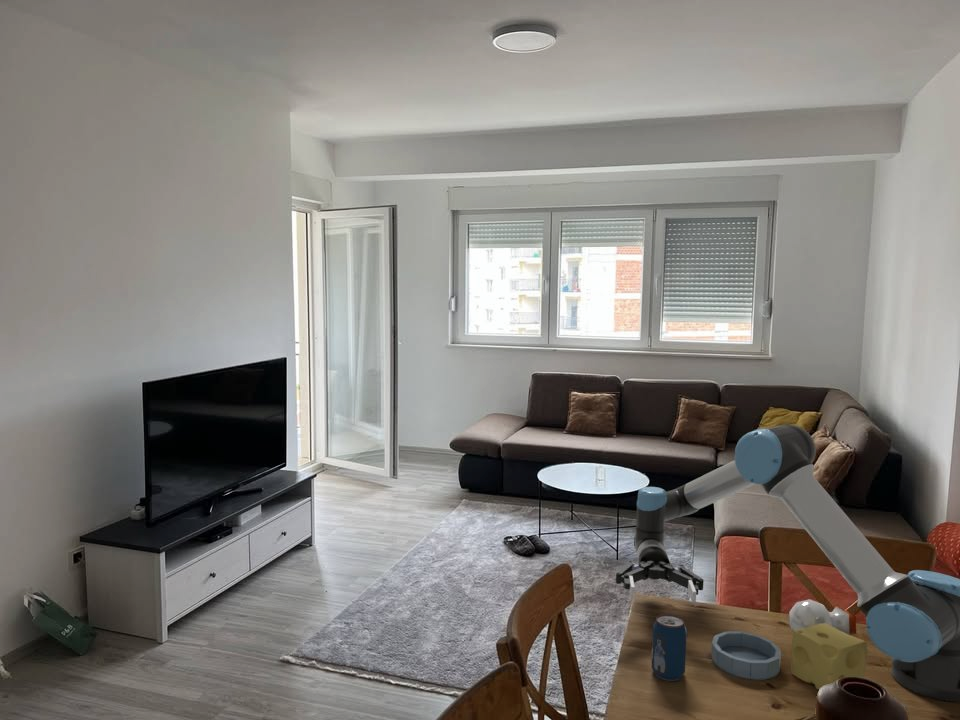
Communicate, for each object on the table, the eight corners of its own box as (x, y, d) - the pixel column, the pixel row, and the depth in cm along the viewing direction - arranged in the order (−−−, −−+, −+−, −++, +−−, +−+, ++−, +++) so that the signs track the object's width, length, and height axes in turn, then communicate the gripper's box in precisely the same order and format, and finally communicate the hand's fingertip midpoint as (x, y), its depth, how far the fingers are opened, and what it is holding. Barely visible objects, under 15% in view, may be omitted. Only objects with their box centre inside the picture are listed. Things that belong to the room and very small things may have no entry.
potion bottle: (784, 644, 169) (839, 646, 172) (810, 637, 161) (867, 639, 164) (776, 604, 174) (829, 607, 177) (800, 595, 166) (856, 598, 169)
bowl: (782, 656, 160) (783, 640, 160) (776, 686, 148) (777, 669, 148) (717, 641, 167) (718, 626, 166) (706, 669, 154) (707, 652, 154)
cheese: (829, 698, 144) (832, 651, 143) (787, 672, 154) (789, 628, 153) (865, 687, 148) (868, 641, 147) (821, 663, 158) (824, 619, 157)
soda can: (685, 668, 154) (687, 615, 153) (684, 685, 148) (686, 629, 147) (652, 663, 157) (654, 610, 155) (649, 679, 150) (652, 624, 149)
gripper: (702, 577, 181) (719, 615, 160) (603, 570, 184) (606, 606, 163) (704, 549, 180) (721, 583, 159) (604, 542, 183) (608, 575, 162)
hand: (663, 595), depth 161 cm, fingers open, 13 cm apart
